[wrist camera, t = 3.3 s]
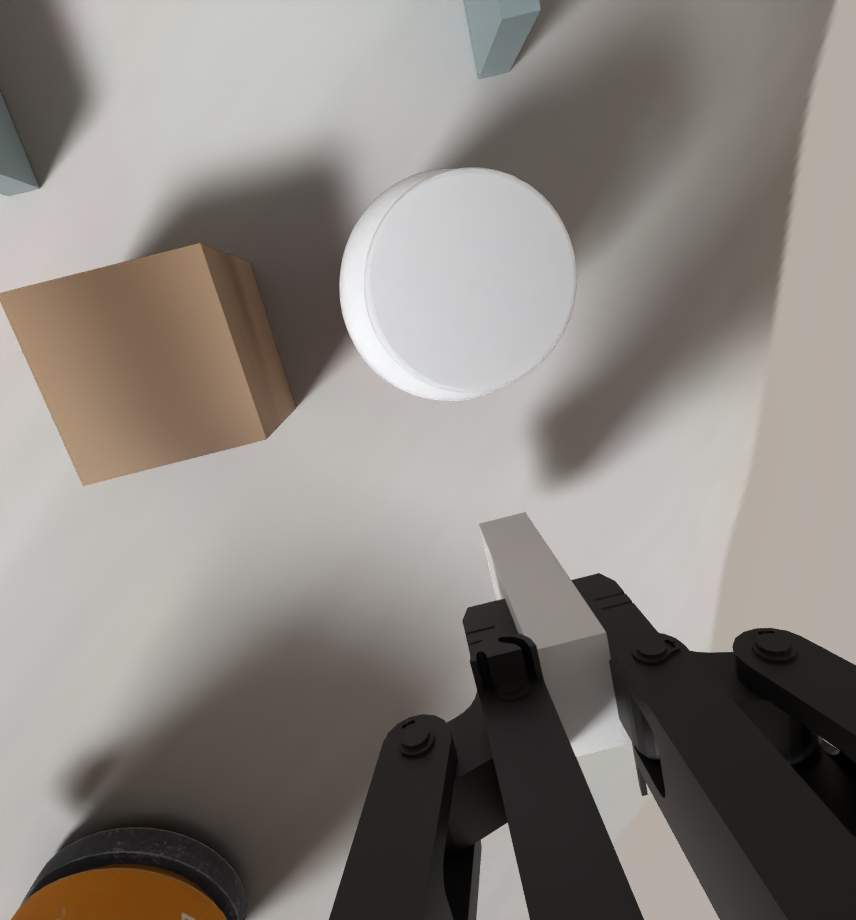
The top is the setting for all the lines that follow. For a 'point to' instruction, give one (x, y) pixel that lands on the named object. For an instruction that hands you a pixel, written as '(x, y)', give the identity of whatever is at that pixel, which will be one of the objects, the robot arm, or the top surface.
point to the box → (493, 41)
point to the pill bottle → (457, 282)
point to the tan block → (153, 359)
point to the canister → (135, 880)
